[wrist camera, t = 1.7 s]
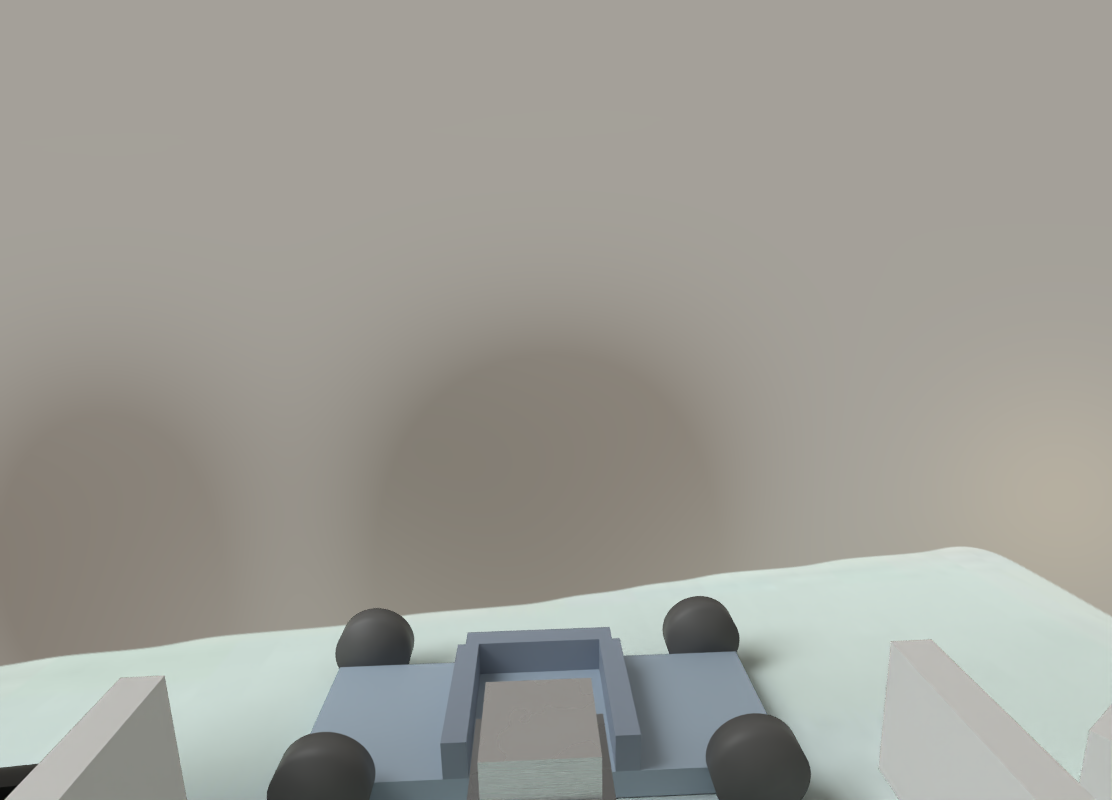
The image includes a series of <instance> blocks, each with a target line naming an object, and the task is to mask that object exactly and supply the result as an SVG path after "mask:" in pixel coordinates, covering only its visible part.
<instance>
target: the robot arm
mask: <svg viewBox="0 0 1112 800" xmlns="http://www.w3.org/2000/svg"><path fill="white" fill-rule="evenodd" d="M878 769H879V770H880V772H881V773H882V775H883V776H884V778H885V779H886V781H887V782H888V784H889V785H890V787H891V788H892V790H893V791H894V793H895V794H896V796H897V797H898V799H899V800H1096V799H1095V798H1094V797H1093V796H1092V795H1091V794H1090V793H1089V792H1088V791H1087V790H1086V789H1085V788H1084V787H1083V786H1082V785H1081V784H1080V783H1078V782H1077V781H1076V780H1075V779H1074V778H1073V777H1072V776H1071V775H1070V774H1069V773H1068V772H1067V771H1066V770H1065V769H1064V768H1063V767H1062V766H1061V765H1060V764H1059V763H1058V762H1057V761H1056V760H1055V759H1054V758H1053V757H1052V756H1051V755H1050V754H1049V753H1048V752H1047V751H1046V750H1045V749H1044V748H1043V747H1041V746H1040V745H1039V744H1038V743H1037V742H1036V741H1035V740H1034V739H1033V738H1032V737H1031V736H1030V735H1029V734H1028V733H1027V732H1026V731H1025V730H1024V729H1023V728H1022V727H1021V726H1020V725H1019V724H1018V723H1017V722H1016V721H1015V720H1014V719H1013V718H1012V717H1011V716H1010V715H1009V714H1008V713H1007V712H1006V711H1005V710H1003V709H1002V708H1001V707H1000V706H999V705H998V704H997V703H996V702H995V701H994V700H993V699H992V698H991V697H990V696H989V695H988V694H987V693H986V692H985V691H984V690H983V689H982V688H981V687H980V686H979V685H978V684H977V683H976V682H975V681H974V680H973V679H972V678H971V677H970V676H969V675H968V674H966V673H965V672H964V671H963V670H962V669H961V668H960V667H959V666H958V665H957V664H956V663H955V662H954V661H953V660H952V659H951V658H950V657H949V656H948V655H947V654H946V653H945V652H944V651H943V650H942V649H941V648H940V647H939V646H938V645H937V644H936V643H935V642H934V641H933V640H932V639H930V640H909V641H891V643H890V653H889V664H888V674H887V684H886V694H885V705H884V715H883V725H882V735H881V746H880V756H879V766H878ZM5 800H187V798H186V792H185V787H184V781H183V776H182V770H181V765H180V759H179V753H178V748H177V742H176V737H175V731H174V726H173V720H172V715H171V709H170V703H169V698H168V692H167V687H166V681H165V676H145V677H124V678H120V679H119V680H118V681H117V682H116V683H115V684H114V685H113V686H112V687H111V688H110V689H109V690H108V691H107V692H106V693H105V694H104V696H103V697H102V698H101V699H100V700H99V701H98V702H97V703H96V704H95V705H94V706H93V707H92V708H91V709H90V710H89V711H88V712H87V713H86V714H85V716H84V717H83V718H82V719H81V720H80V721H79V722H78V723H77V724H76V725H75V726H74V727H73V728H72V729H71V730H70V731H69V732H68V733H67V734H66V736H65V737H64V738H63V739H62V740H61V741H60V742H59V743H58V744H57V745H56V746H55V747H54V748H53V749H52V750H51V751H50V752H49V753H48V754H47V756H46V757H45V758H44V759H43V760H42V761H41V762H40V763H39V764H38V765H37V766H36V767H35V768H34V769H33V770H32V771H31V772H30V773H29V774H28V776H27V777H26V778H25V779H24V780H23V781H22V782H21V783H20V784H19V785H18V786H17V787H16V788H15V789H14V790H13V791H12V792H11V793H10V794H9V795H8V797H7V798H6V799H5Z"/></svg>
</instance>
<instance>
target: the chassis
mask: <svg viewBox="0 0 1112 800" xmlns="http://www.w3.org/2000/svg"><path fill="white" fill-rule="evenodd" d="M663 636H664V640H665V643H666V646H667V648H668V651H669V654H657V655H632V656H623V652H622V647H621V643H620V638H616V639H612V637H611V632H610V627H598V628H573V629H547V630H521V631H495V632H469V633H468V634H467V640H466V644H463V645H458V648H457V653H456V659H455V663H433V664H409V661H410V657H411V654H412V650H413V647H414V635H413V631H412V629H411V627H410V625H409V624H408V622H407V621H406V620H405V619H404V618H403V617H402V616H400V615H399V614H397V613H395V612H393V611H390V610H386V609H381V608H380V609H379V608H374V609H368V610H364V611H362V612H360V613H358V614H356V615H355V616H354V617H352V618H351V620H350V621H349V622H348V623H347V625H346V627H345V629H344V631H343V633H342V635H341V637H340V639H339V641H338V644H337V647H336V653H335V654H336V662H337V665H338V667H339V671H338V673H337V675H336V678H335V680H334V682H333V684H332V686H331V689H330V691H329V693H328V695H327V698H326V700H325V702H324V704H323V706H322V709H321V711H320V713H319V715H318V718H317V720H316V722H315V724H314V726H313V729H312V731H311V733H310V734H309V735H306V736H304V737H301V738H300V739H298V740H296V741H295V742H294V743H293V744H291V745H290V747H289V748H288V749H287V750H286V752H285V753H284V755H283V757H282V759H281V761H280V764H279V766H278V768H277V770H276V772H275V774H274V776H273V778H272V780H271V782H270V785H269V787H268V791H267V800H467V794H468V785H469V776H470V767H471V759H472V750H473V741H474V733H475V724H476V719H482V714H483V704H484V694H485V684H486V682H501V681H525V680H550V679H574V678H591V681H592V688H593V695H594V702H595V709H596V714H603V717H604V723H605V730H606V736H607V743H608V749H609V756H610V762H611V769H612V775H613V782H614V788H615V795H616V798H623V797H644V796H665V795H687V794H708V793H716V794H717V797H718V799H719V800H801V799H802V798H803V796H804V795H805V793H806V791H807V789H808V786H809V783H810V778H811V771H810V766H809V763H808V760H807V758H806V756H805V755H804V753H803V751H802V749H801V747H800V745H799V743H798V741H797V740H796V738H795V736H794V734H793V732H792V731H791V729H790V728H789V727H788V726H787V725H786V724H785V723H784V722H783V721H781V720H780V719H778V718H776V717H774V716H771V715H767V713H766V711H765V709H764V707H763V705H762V703H761V701H760V699H759V697H758V695H757V693H756V691H755V689H754V687H753V685H752V683H751V681H750V679H749V677H748V675H747V673H746V671H745V669H744V667H743V665H742V663H741V661H740V659H739V657H738V655H737V653H736V652H737V650H738V647H739V633H738V630H737V627H736V625H735V624H734V622H733V620H732V618H731V616H730V614H729V612H728V611H727V609H726V608H725V607H724V606H723V605H722V604H721V603H720V602H718V601H717V600H715V599H712V598H709V597H704V596H695V597H690V598H687V599H684V600H682V601H680V602H678V603H677V604H676V605H674V606H673V607H672V608H671V609H670V611H669V612H668V613H667V615H666V617H665V619H664V623H663Z"/></svg>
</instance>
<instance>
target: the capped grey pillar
mask: <svg viewBox="0 0 1112 800" xmlns="http://www.w3.org/2000/svg"><path fill="white" fill-rule="evenodd" d="M467 800H616V795H615V788H614V782H613V775H612V769H611V762H610V756H609V749H608V743H607V736H606V730H605V723H604V717H603V714H596V709H595V702H594V695H593V688H592V681H591V678H574V679H550V680H525V681H501V682H486V684H485V694H484V704H483V714H482V719H476V724H475V733H474V741H473V750H472V759H471V767H470V776H469V785H468V794H467Z"/></svg>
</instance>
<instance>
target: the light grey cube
mask: <svg viewBox="0 0 1112 800" xmlns="http://www.w3.org/2000/svg"><path fill="white" fill-rule="evenodd" d="M1079 783H1080V784H1081V785H1082V786H1083V787H1084V788H1085V789H1086V790H1087V791H1088V792H1089V793H1090V794H1091V795H1092V796H1093V797H1094V798H1095V799H1096V800H1112V704H1111V706H1110V707H1109V708H1108V709H1107V710H1106V711H1105V712H1104V714H1103V715H1102V716H1101V717H1100V718H1099V719H1098V721H1097V722H1096V723H1095V724H1094V725H1093V726H1092V727H1091V729H1090V730H1089V734H1088V739H1087V744H1086V749H1085V754H1084V759H1083V765H1082V770H1081V775H1080V780H1079Z"/></svg>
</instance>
